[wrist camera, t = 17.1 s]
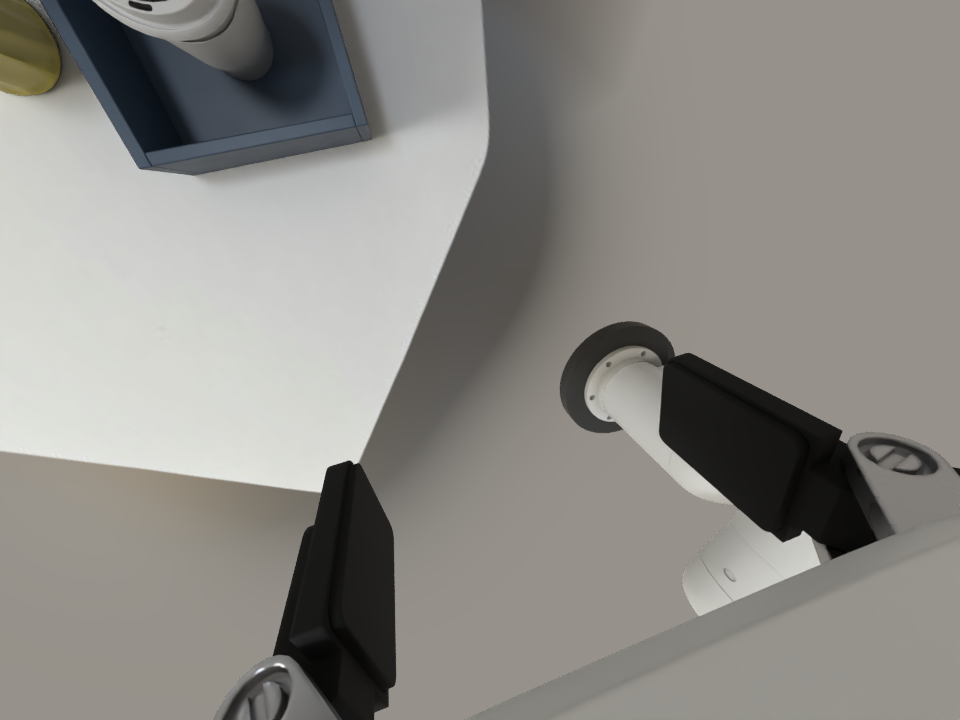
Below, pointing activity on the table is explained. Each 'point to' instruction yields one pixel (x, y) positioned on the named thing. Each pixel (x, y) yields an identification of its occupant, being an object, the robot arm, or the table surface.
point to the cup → (204, 30)
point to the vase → (26, 51)
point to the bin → (218, 89)
